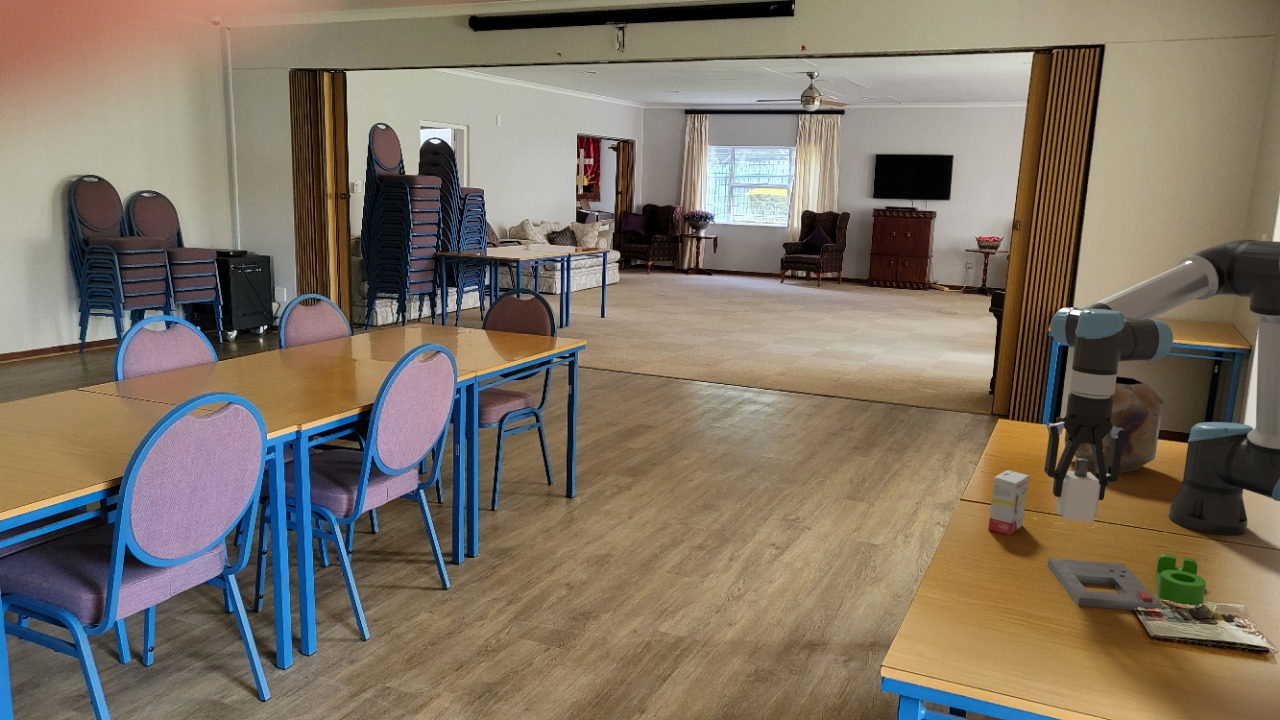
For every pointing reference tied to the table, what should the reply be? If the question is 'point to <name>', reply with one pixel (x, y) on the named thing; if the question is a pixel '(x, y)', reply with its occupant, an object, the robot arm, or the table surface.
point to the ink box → (1008, 502)
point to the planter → (1130, 425)
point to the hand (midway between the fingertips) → (1075, 514)
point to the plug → (1080, 493)
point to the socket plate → (1104, 574)
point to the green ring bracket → (1179, 581)
